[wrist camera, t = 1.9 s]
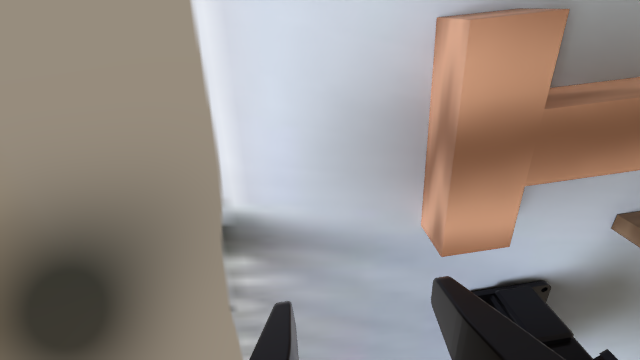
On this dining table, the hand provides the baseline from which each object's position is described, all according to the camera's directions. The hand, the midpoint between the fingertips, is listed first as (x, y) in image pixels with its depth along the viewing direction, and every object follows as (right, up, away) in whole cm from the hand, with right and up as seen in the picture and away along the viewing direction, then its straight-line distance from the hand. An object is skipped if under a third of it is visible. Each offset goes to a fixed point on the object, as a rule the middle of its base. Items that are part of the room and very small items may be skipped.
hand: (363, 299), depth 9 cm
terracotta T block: (+11, +6, +9) cm, 16 cm away
